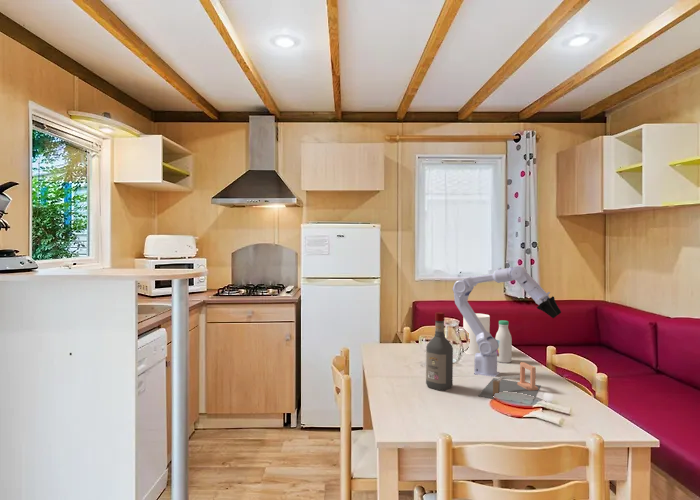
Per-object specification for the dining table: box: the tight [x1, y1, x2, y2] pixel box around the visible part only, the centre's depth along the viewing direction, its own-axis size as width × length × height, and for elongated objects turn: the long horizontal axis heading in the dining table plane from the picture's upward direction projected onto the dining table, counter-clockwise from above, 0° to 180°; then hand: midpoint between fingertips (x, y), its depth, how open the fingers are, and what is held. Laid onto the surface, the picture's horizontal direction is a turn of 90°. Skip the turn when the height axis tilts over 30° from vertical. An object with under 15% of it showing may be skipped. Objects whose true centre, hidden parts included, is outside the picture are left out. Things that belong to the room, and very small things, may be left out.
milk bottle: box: [494, 319, 513, 364], centre depth 216 cm, size 8×8×20 cm
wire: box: [493, 374, 520, 396], centre depth 170 cm, size 7×16×6 cm, turn 149°
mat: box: [477, 377, 542, 400], centre depth 172 cm, size 19×25×1 cm
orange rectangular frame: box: [516, 361, 538, 391], centre depth 176 cm, size 4×8×9 cm, turn 14°
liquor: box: [425, 311, 454, 392], centre depth 177 cm, size 9×9×30 cm
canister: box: [462, 312, 491, 357], centre depth 233 cm, size 14×14×20 cm
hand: (557, 315), depth 179 cm, fingers open, 7 cm apart
